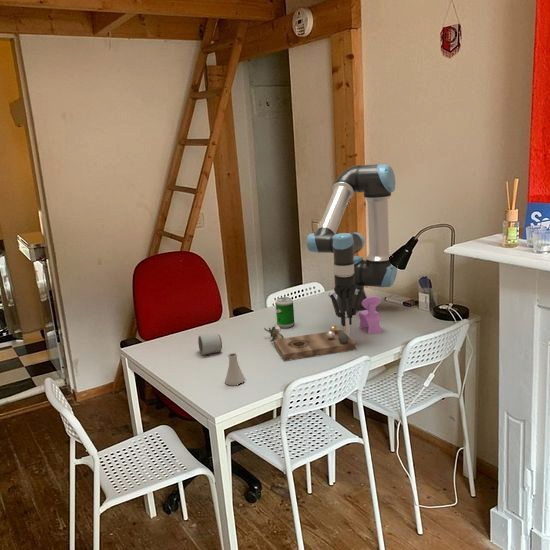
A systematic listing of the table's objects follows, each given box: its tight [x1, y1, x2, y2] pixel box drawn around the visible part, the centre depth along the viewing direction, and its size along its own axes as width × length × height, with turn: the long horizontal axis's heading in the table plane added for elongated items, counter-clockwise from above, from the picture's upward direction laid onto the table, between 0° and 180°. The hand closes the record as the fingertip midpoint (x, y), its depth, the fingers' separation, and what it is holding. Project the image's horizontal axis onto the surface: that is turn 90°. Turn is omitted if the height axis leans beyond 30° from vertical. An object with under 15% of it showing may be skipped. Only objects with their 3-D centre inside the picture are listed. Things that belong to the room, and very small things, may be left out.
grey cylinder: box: [197, 333, 223, 356], centre depth 226 cm, size 11×8×8 cm
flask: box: [224, 352, 246, 386], centre depth 196 cm, size 7×7×10 cm
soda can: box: [275, 296, 295, 329], centre depth 248 cm, size 8×8×12 cm
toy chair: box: [358, 295, 383, 335], centre depth 236 cm, size 8×9×15 cm
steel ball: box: [327, 330, 335, 339], centre depth 223 cm, size 3×3×3 cm
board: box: [273, 329, 357, 361], centre depth 222 cm, size 28×16×2 cm, turn 103°
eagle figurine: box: [264, 325, 285, 342], centre depth 232 cm, size 8×7×9 cm
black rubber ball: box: [338, 333, 349, 343], centre depth 218 cm, size 4×4×4 cm
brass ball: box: [329, 325, 338, 333], centre depth 229 cm, size 3×3×3 cm
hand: (346, 333), depth 224 cm, fingers closed
